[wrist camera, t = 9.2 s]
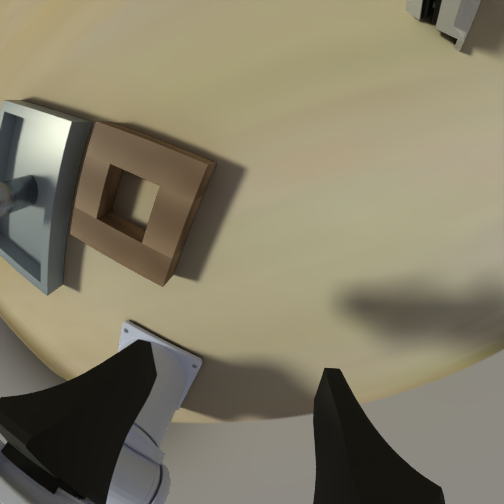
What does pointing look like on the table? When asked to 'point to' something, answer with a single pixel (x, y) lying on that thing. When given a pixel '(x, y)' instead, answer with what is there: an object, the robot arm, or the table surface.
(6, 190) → the pin
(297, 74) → the table surface
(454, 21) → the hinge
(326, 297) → the table surface
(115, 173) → the holder
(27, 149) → the tray
